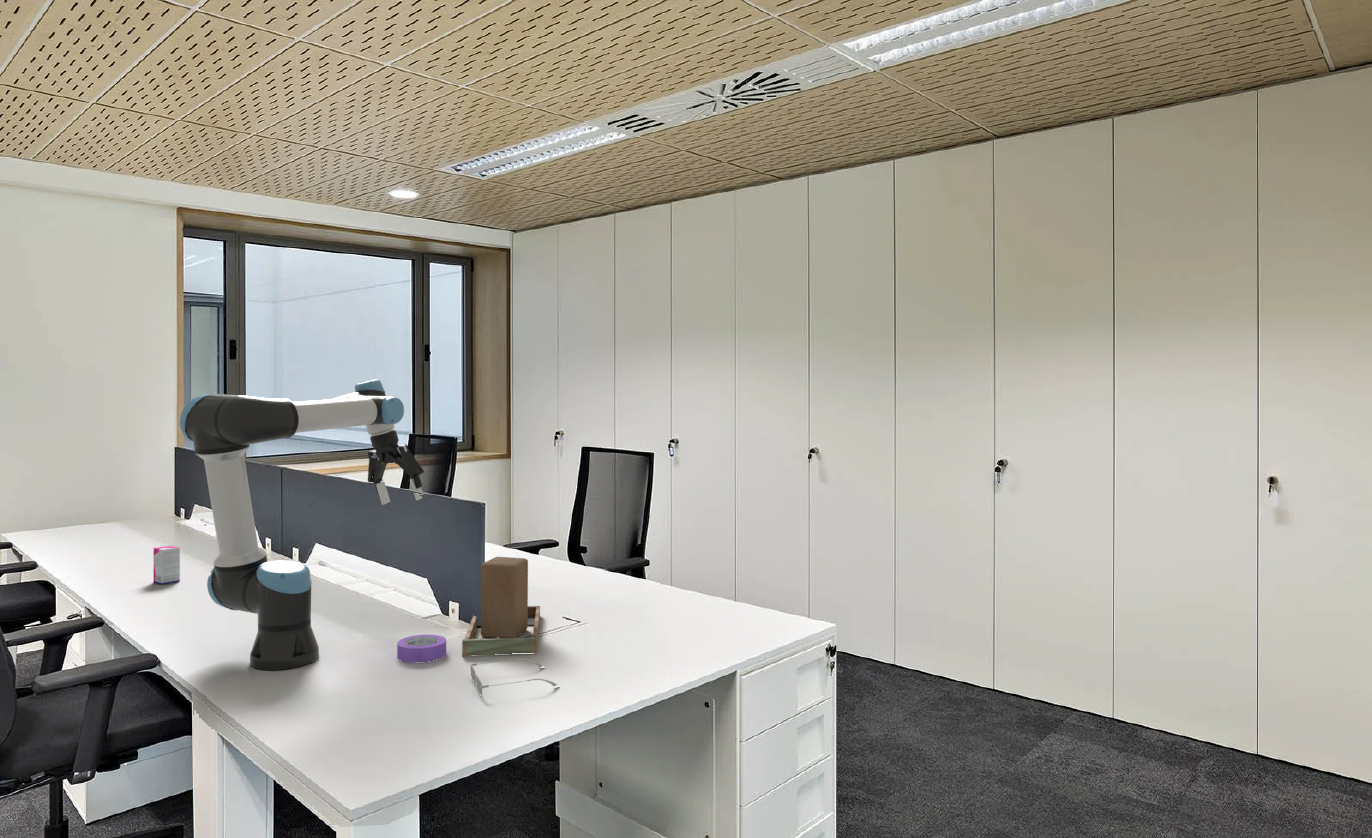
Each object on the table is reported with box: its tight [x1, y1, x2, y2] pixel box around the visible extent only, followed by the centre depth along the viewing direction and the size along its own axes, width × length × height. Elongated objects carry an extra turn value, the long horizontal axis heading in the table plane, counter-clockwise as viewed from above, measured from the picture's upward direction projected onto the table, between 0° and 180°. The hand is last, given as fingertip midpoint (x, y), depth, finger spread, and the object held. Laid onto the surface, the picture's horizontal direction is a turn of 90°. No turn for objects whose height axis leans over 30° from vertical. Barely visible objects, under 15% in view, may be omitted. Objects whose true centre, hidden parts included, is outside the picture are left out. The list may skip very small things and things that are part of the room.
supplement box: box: [153, 545, 181, 586], centre depth 280 cm, size 6×6×12 cm
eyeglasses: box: [469, 658, 558, 696], centre depth 196 cm, size 15×18×4 cm
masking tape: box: [396, 633, 447, 663], centre depth 213 cm, size 12×12×4 cm
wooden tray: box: [461, 605, 541, 657], centre depth 230 cm, size 34×18×4 cm, turn 8°
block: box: [480, 556, 529, 638], centre depth 231 cm, size 10×10×20 cm
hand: (403, 501), depth 253 cm, fingers open, 13 cm apart
